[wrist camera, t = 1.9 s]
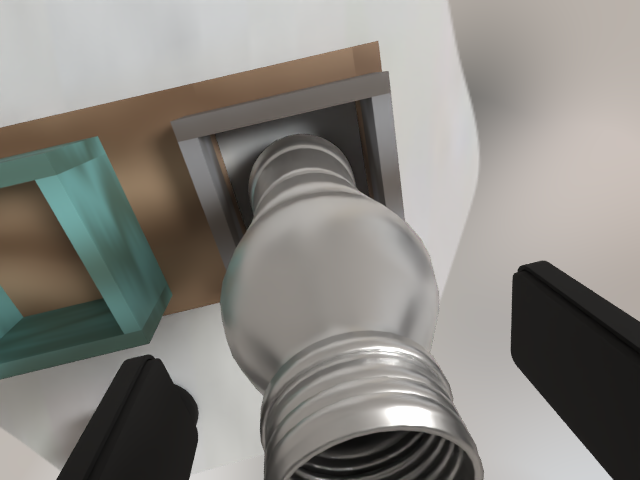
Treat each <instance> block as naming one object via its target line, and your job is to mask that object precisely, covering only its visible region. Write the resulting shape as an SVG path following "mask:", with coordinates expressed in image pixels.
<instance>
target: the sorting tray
mask: <svg viewBox="0 0 640 480" xmlns="http://www.w3.org/2000/svg"><path fill="white" fill-rule="evenodd" d="M353 101H355V105H356V112H357V118H358V125H359V132H360V138H361V145H362V151H363V158H364V164H365V171H366V177H367V184H368V191H369V197H370V198H372V199H373V200H375V201H377V202H379V203H381V204H383V205H384V206H385V207H387V208H388V209H390V210H391V211H392V212H394V213H395V214H396V215H398V216H399V217H400V218H401V219H402V220H404V221H405V218H404V209H403V200H402V190H401V181H400V172H399V163H398V154H397V145H396V136H395V127H394V117H393V108H392V99H391V90H390V81H389V72H388V71H385V72H382V69H381V60H380V52H379V43H378V41H376V42H371V43H367V44H363V45H358V46H354V47H350V48H345V49H341V50H337V51H332V52H328V53H323V54H319V55H315V56H310V57H306V58H302V59H297V60H293V61H289V62H284V63H280V64H276V65H271V66H267V67H263V68H258V69H254V70H250V71H245V72H241V73H236V74H232V75H228V76H223V77H219V78H215V79H210V80H206V81H202V82H197V83H193V84H189V85H184V86H180V87H176V88H171V89H167V90H163V91H158V92H154V93H149V94H145V95H141V96H136V97H132V98H128V99H123V100H119V101H115V102H110V103H106V104H102V105H97V106H93V107H89V108H84V109H80V110H75V111H71V112H67V113H62V114H58V115H54V116H49V117H45V118H41V119H36V120H32V121H28V122H23V123H19V124H15V125H10V126H6V127H2V128H0V379H4V378H8V377H12V376H17V375H21V374H25V373H29V372H33V371H37V370H41V369H46V368H50V367H54V366H58V365H62V364H66V363H70V362H75V361H79V360H83V359H87V358H91V357H95V356H99V355H104V354H108V353H112V352H116V351H120V350H124V349H128V348H133V347H137V346H141V345H145V344H149V343H150V341H151V339H152V337H153V335H154V333H155V330H156V328H157V326H158V324H159V322H160V320H161V318H162V316H165V315H169V314H173V313H178V312H182V311H186V310H190V309H194V308H198V307H203V306H207V305H211V304H215V303H219V302H220V297H221V290H222V282H223V279H224V276H225V274H226V271H227V268H228V265H229V263H230V260H231V258H232V256H233V253H234V251H235V248H236V247H237V245H238V244H239V242H240V241H241V239H242V237H243V236H244V234H245V233H246V228H245V225H244V222H243V219H242V216H241V213H240V210H239V207H238V204H237V201H236V198H235V195H234V191H233V188H232V185H231V182H230V179H229V176H228V173H227V170H226V167H225V164H224V161H223V158H222V155H221V152H220V149H219V146H218V143H217V140H216V137H215V134H216V133H220V132H224V131H228V130H233V129H237V128H241V127H246V126H250V125H254V124H259V123H263V122H267V121H271V120H276V119H280V118H284V117H289V116H293V115H297V114H302V113H306V112H310V111H314V110H319V109H323V108H327V107H332V106H336V105H340V104H345V103H349V102H353Z"/></svg>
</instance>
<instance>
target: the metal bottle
mask: <svg viewBox="0 0 640 480" xmlns="http://www.w3.org/2000/svg"><path fill="white" fill-rule="evenodd" d="M248 189H249V200H250V205H251V209H252V212H253V215H254V217H253V220H252V223H251V225H250V226H249V228H248V230H247V231H246V233H245V234H244V236H243V237H242V239H241V241H240V242H239V244H238V245H237V247H236V248H235V251H234V253H233V256H232V258H231V260H230V263H229V265H228V268H227V271H226V274H225V276H224V279H223V282H222V290H221V297H220V306H221V316H222V322H223V326H224V331H225V335H226V339H227V342H228V345H229V347H230V350H231V353H232V356H233V358H234V359H235V361H236V362H237V364H238V365H239V367H240V368H241V370H242V371H243V373H244V374H245V375H246V376H247V378H248V379H249V380H250V381H251V383H252V384H253V385H254V387H255V388H256V389H257V390H258V391H259V392H260V393H261V394H262V395H263V401H262V406H261V419H260V434H261V443H262V446H263V449H264V452H265V459H264V460H265V461H264V480H483V477H484V470H483V466H482V462H481V459H480V457H479V455H478V451H477V447H476V444H475V443H474V441H473V439H472V437H471V435H470V433H469V432H468V430H467V428H466V426H465V424H464V422H463V420H462V418H461V417H460V415H459V413H458V411H457V409H456V407H455V405H454V403H453V396H452V392H451V388H450V385H449V383H448V381H447V379H446V377H445V376H444V374H443V372H442V370H441V368H440V367H439V365H438V363H437V362H436V360H435V358H434V357H433V356H432V355H431V354H430V351H431V347H432V342H433V338H434V333H435V327H436V323H437V318H438V313H439V291H438V287H437V283H436V279H435V275H434V271H433V267H432V263H431V259H430V255H429V253H428V251H427V249H426V248H425V246H424V244H423V242H422V240H421V238H420V237H419V236H418V235H417V234H416V233H415V231H414V230H413V229H412V228H411V227H410V226H409V224H408V223H406V222H405V221H404V220H402V219H401V218H400V217H399V216H398V215H396V214H395V213H394V212H392V211H391V210H390V209H388V208H387V207H385V206H384V205H383V204H381V203H379V202H377V201H375V200H373V199H372V198H370V197H368V196H366V195H364V194H363V193H361V192H360V191H359V190H358V189H357V188H356V183H355V179H354V175H353V172H352V169H351V166H350V164H349V162H348V160H347V159H346V157H345V155H344V154H343V153H342V152H341V151H340V150H339V148H338V147H336V146H335V145H334V144H332V143H331V142H330V141H328V140H326V139H323V138H321V137H319V136H315V135H310V134H295V135H290V136H286V137H284V138H281V139H279V140H277V141H275V142H274V143H272V144H271V145H270V146H268V147H267V148H266V149H265V150H264V151H263V152H262V153H261V154H260V155H259V157H258V159H257V160H256V162H255V164H254V165H253V168H252V171H251V174H250V178H249V185H248Z"/></svg>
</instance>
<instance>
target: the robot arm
mask: <svg viewBox="0 0 640 480" xmlns="http://www.w3.org/2000/svg"><path fill="white" fill-rule="evenodd" d="M511 325H512V326H511V355H512V358H513V361H514V362H515V364H516V365H517V367H518V368H519V369H520V370H521V371H522V373H523V374H524V375H525V376H526V377H527V378H528V380H529V381H530V382H531V383H532V384H533V385H534V387H535V388H536V389H537V390H538V391H539V392H540V394H541V395H542V396H543V397H544V398H545V399H546V401H547V402H548V403H549V404H550V406H551V407H552V408H553V409H554V410H555V411H556V412H557V414H558V415H559V416H560V417H561V419H562V420H563V421H564V422H565V423H566V424H567V426H568V427H569V428H570V429H571V430H572V431H573V433H574V434H575V435H576V436H577V437H578V439H579V440H580V441H581V442H582V443H583V444H584V445H585V447H586V448H587V449H588V450H589V451H590V453H591V454H592V455H593V456H594V457H595V459H596V460H597V461H598V462H599V463H600V464H601V466H602V467H603V468H604V469H605V470H606V472H607V473H608V474H609V475H610V476H611V477H612V478H613V480H640V322H639V321H638V320H636V319H635V318H633V317H631V316H630V315H628V314H627V313H625V312H624V311H622V310H621V309H619V308H618V307H616V306H615V305H613V304H611V303H610V302H608V301H607V300H605V299H604V298H602V297H601V296H599V295H598V294H596V293H595V292H593V291H592V290H590V289H589V288H587V287H586V286H584V285H582V284H581V283H579V282H578V281H576V280H575V279H573V278H572V277H570V276H569V275H567V274H566V273H564V272H563V271H561V270H559V269H558V268H556V267H555V266H553V265H552V264H550V263H549V262H547V261H539V262H534V263H530V264H526V265H522V266H520V267H519V269H518V272H517V273H514V275H513V284H512V324H511ZM197 443H198V431H197V428H196V425H195V423H194V422H193V420H192V418H191V416H190V414H189V412H188V410H187V408H186V406H185V404H184V402H183V401H182V399H181V397H180V395H179V393H178V391H177V389H176V387H175V385H174V383H173V382H172V380H171V378H170V376H169V374H168V372H167V370H166V368H165V366H164V364H163V362H162V361H161V360H160V359H159V358H156V359H155V358H154V357H153V356H152V355H144V356H140V357H135V358H131V359H127V360H125V361H124V362H123V364H122V365H121V367H120V369H119V371H118V372H117V374H116V376H115V378H114V379H113V381H112V383H111V385H110V386H109V388H108V390H107V392H106V393H105V395H104V397H103V399H102V400H101V402H100V404H99V406H98V407H97V409H96V411H95V413H94V414H93V416H92V418H91V420H90V421H89V423H88V425H87V427H86V429H85V430H84V432H83V434H82V436H81V437H80V439H79V441H78V443H77V444H76V446H75V448H74V450H73V451H72V453H71V455H70V457H69V458H68V460H67V462H66V464H65V465H64V467H63V469H62V471H61V472H60V474H59V476H58V478H57V480H189V477H190V473H191V469H192V465H193V460H194V456H195V452H196V447H197Z"/></svg>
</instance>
